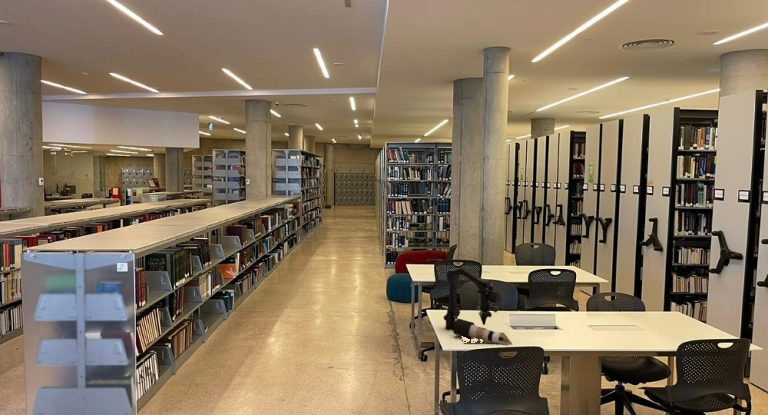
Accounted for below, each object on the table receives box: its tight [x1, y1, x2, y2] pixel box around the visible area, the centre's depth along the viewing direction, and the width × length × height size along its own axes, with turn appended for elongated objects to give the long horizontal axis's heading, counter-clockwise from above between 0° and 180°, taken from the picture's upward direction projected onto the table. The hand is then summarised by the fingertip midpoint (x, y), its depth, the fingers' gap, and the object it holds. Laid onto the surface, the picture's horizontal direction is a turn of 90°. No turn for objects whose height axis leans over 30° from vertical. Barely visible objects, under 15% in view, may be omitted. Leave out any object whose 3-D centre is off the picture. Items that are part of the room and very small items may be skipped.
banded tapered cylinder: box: [452, 318, 509, 343], centre depth 335 cm, size 10×34×10 cm, turn 57°
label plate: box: [463, 331, 513, 346], centre depth 340 cm, size 30×26×1 cm
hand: (483, 324), depth 343 cm, fingers closed
